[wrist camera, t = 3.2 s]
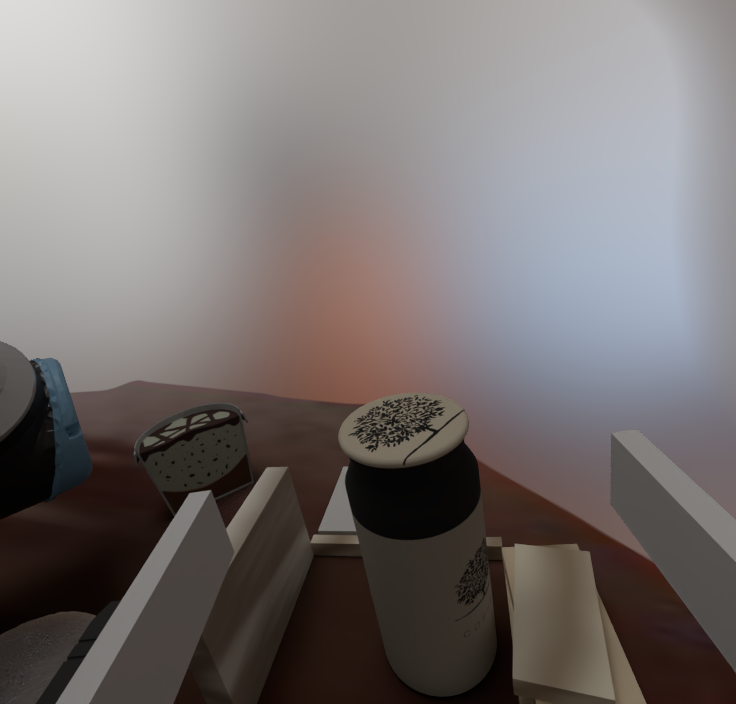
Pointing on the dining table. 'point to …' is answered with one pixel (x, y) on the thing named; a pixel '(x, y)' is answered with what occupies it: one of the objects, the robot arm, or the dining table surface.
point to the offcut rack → (295, 553)
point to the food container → (196, 453)
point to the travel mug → (422, 539)
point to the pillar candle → (37, 654)
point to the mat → (338, 512)
